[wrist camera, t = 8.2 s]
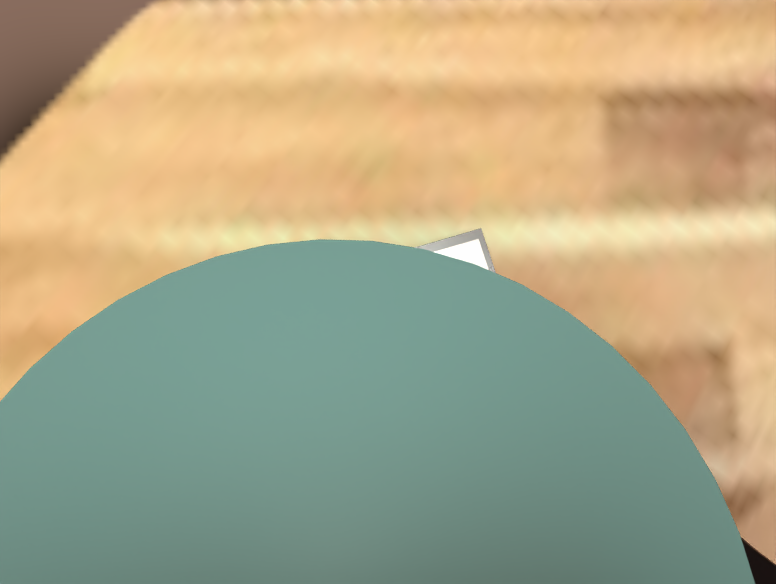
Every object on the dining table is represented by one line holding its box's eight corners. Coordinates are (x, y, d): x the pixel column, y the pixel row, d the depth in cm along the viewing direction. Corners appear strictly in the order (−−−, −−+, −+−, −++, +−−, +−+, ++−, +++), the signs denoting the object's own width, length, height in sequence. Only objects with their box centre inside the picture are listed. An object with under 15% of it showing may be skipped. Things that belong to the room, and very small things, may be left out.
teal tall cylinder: (500, 447, 16) (958, 733, 3) (361, 568, 16) (249, 1470, 3) (385, 310, 17) (386, 86, 4) (248, 423, 16) (-288, 611, 3)
